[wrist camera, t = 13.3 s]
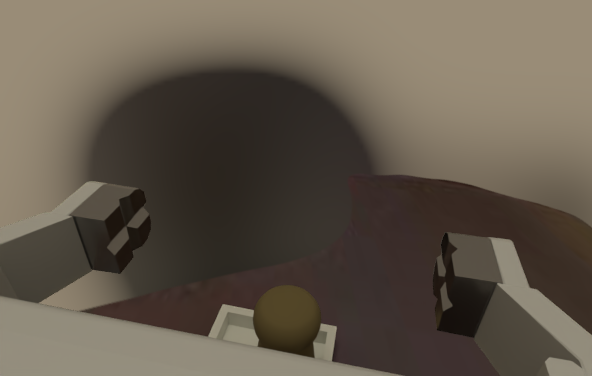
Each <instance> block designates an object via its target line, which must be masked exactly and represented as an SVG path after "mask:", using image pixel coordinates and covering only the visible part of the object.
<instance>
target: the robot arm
mask: <svg viewBox="0 0 592 376" xmlns="http://www.w3.org/2000/svg"><path fill="white" fill-rule="evenodd" d="M145 203H146V198H145V195H144V192H143V191H142V190H141V189H138V188H132V187H126V186H120V185H114V184H106V183H101V182H94V181H92V182H86V183H85V184H84V185H83V186H82V187H80V188H79V189H78V190H77V191H76V192H74V193H73V194H72V195H71V196H70V197H69V198H67V199H66V200H65V201H64V202H62V203H61V204H60V205H59V206H58V207H56V208H55V209H54V210H53V211H52V212H50V213H47V212H44V213H41V214H39V215H35V216H32V217H30V218H27V219H24V220H21V221H18V222H15V223H13V224H10V225H7V226H4V227H1V228H0V376H403V375H397V374H392V373H387V372H382V371H377V370H372V369H367V368H362V367H357V366H352V365H347V364H342V363H337V362H332V361H327V360H322V359H317V358H312V357H307V356H302V355H297V354H292V353H287V352H282V351H277V350H272V349H267V348H262V347H257V346H251V345H246V344H241V343H236V342H231V341H226V340H221V339H216V338H211V337H206V336H201V335H196V334H191V333H186V332H181V331H175V330H170V329H165V328H160V327H155V326H150V325H145V324H140V323H135V322H130V321H125V320H120V319H115V318H110V317H105V316H100V315H94V314H89V313H84V312H79V311H74V310H69V309H64V308H58V307H54V306H49V305H44V304H39V302H41V301H42V300H44V299H46V298H47V297H49V296H51V295H52V294H54V293H56V292H58V291H59V290H61V289H63V288H64V287H66V286H67V285H69V284H71V283H73V282H74V281H76V280H77V279H79V278H81V277H82V276H84V275H86V274H87V273H89V272H91V271H92V270H98V271H105V272H112V273H118V274H120V273H121V272H122V271H123V270H124V268H125V267H126V266H127V265H128V263H129V262H130V261H131V260H132V258H133V250H135V249H137V248H139V247H141V246H142V245H143V244H144V243H145V241H146V240H147V238H148V236H149V232H150V230H151V220H150V215H149V214H148V213H147V211H146V210H145V209H144V208H143V206H144V204H145ZM441 252H442V255H440V256H439V257H437V259H436V263H435V267H434V274H433V294H434V296H435V297H436V298H437V303H436V306H435V315H436V324H437V330H438V331H443V332H448V333H453V334H458V335H463V336H467V337H472V338H474V340H475V342H476V343H477V345H478V346H479V347H480V349H481V350H482V351H483V353H484V354H485V355H486V357H487V358H488V360H489V361H490V362H491V364H492V365H493V366H494V368H495V369H496V370H497V372H498V373H499V375H500V376H592V335H590V334H589V333H588V332H587V331H586V330H584V329H583V328H582V327H581V326H580V325H578V324H577V323H576V322H575V321H574V320H573V319H571V318H570V317H569V316H568V315H567V314H565V313H564V312H563V311H562V310H561V309H559V308H558V307H557V306H556V305H555V304H553V303H552V302H551V301H550V300H549V299H547V298H546V297H545V296H544V295H543V294H541V293H540V292H539V291H538V290H537V289H531V288H530V287H529V285H528V282H527V279H526V276H525V274H524V271H523V268H522V266H521V263H520V260H519V258H518V255H517V252H516V250H515V247H514V244H513V242H512V241H511V240H508V239H499V238H491V237H488V238H485V237H478V236H470V235H463V234H456V233H448V232H445V234H444V236H443V238H442V242H441ZM91 269H92V270H91Z"/></svg>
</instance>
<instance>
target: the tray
mask: <svg viewBox="0 0 592 376" xmlns="http://www.w3.org/2000/svg"><path fill="white" fill-rule="evenodd" d="M253 314H254V310H249V309H244V308H239V307H234V306H229V305H224V304H223V305H222V307H221V309H220V312H219V314H218V316H217V318H216V320H215V323H214V325H213V327H212V329H211V331H210V334H209V336H208V337H211V338H216V339H221V340H226V341H231V342H236V343H241V344H246V345H251V346H258V341H259V339H258V337H257V335H256V333H255V330H254V325H253ZM336 328H337V327H335V326H330V325H325V324H321V326H320V330H319V332H318V335H317V337H316V339H315V340H314V341H313V345H314V356H315V358H317V359H322V360H327V361H332V356H333V349H334V342H335V335H336Z"/></svg>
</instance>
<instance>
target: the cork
mask: <svg viewBox="0 0 592 376" xmlns="http://www.w3.org/2000/svg"><path fill="white" fill-rule="evenodd" d="M253 325H254V330H255V333H256V335H257V337H258V339H259V341H258V346H257V347H262V348H267V349H272V350H277V351H282V352H287V353H292V354H297V355H302V356H307V357H312V358H315V356H314V345H313V341H314V340H315V339H316V337H317V335H318V332H319V330H320V326H321V312H320V308H319V306H318V304H317V301H316V300H315V299H314V298H313V297H312V296H311V295H310V293H309V292H307V291H306V290H304V289H302V288H300V287H296V286H292V285H282V286H277V287H274V288H272V289H270V290H268V291H267V292H266V293H265V294H264V295H263V296H262V297H260V299H259V300H258V302H257V304H256V306H255V309H254V314H253Z"/></svg>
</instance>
